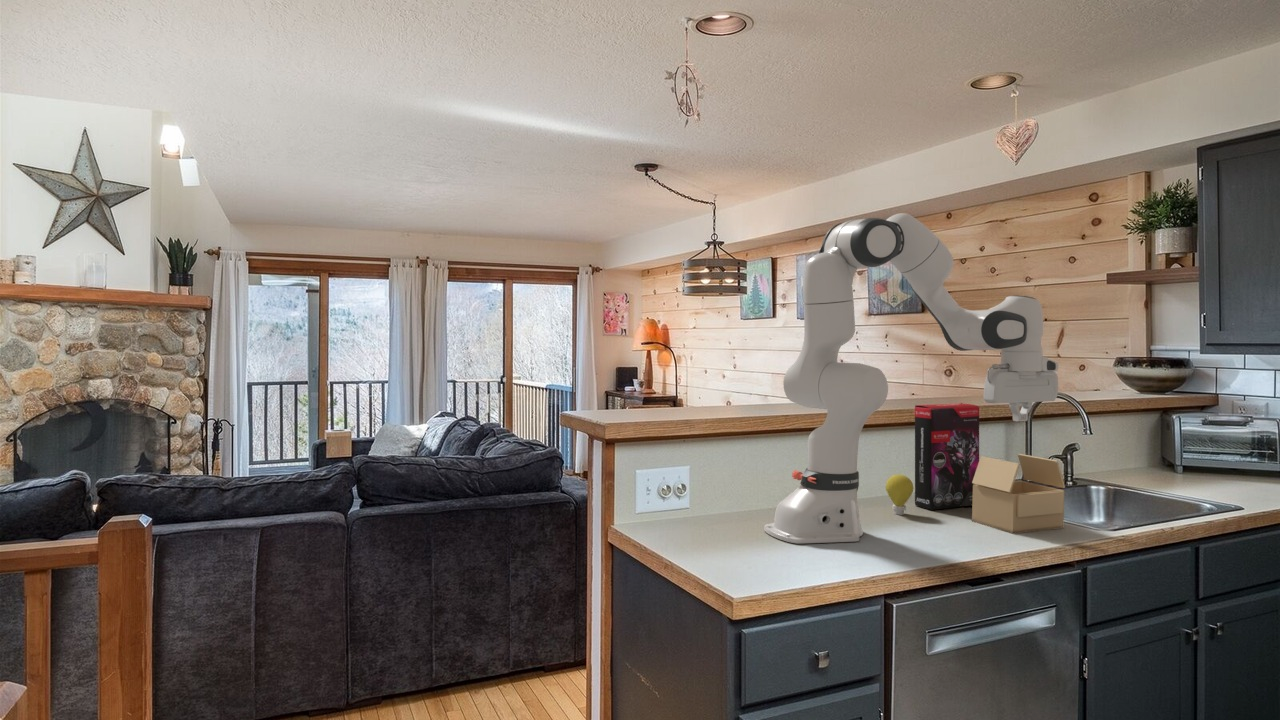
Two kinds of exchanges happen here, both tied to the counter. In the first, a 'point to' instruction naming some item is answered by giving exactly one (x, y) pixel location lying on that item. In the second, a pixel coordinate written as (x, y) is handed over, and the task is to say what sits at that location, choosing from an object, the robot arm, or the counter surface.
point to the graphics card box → (945, 454)
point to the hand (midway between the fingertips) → (1020, 421)
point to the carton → (1019, 507)
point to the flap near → (996, 473)
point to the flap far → (1041, 470)
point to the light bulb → (899, 492)
